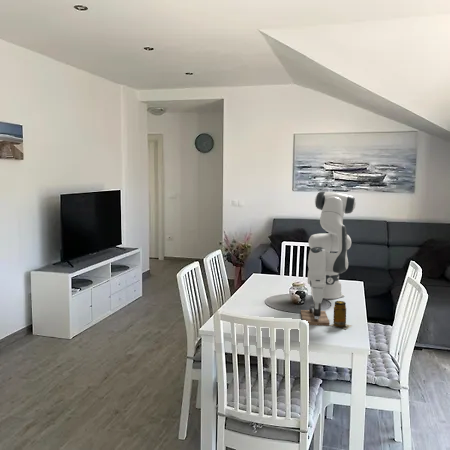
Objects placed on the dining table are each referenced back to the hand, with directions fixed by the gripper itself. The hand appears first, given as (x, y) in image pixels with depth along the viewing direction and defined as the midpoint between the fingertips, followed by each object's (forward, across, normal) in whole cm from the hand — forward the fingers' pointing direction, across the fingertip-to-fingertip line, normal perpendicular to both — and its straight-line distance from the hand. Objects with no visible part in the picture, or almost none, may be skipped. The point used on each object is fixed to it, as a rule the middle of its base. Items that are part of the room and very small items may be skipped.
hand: (315, 307), depth 229 cm
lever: (+7, -8, 0) cm, 10 cm away
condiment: (+9, +2, +12) cm, 15 cm away
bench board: (+9, -8, 0) cm, 12 cm away
